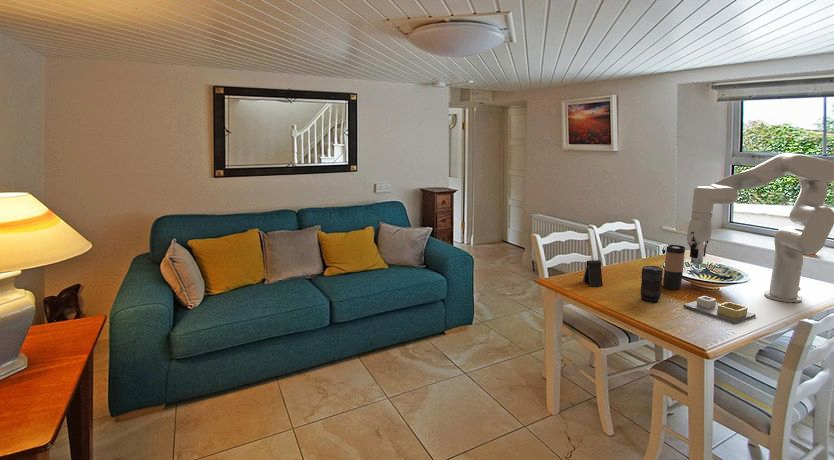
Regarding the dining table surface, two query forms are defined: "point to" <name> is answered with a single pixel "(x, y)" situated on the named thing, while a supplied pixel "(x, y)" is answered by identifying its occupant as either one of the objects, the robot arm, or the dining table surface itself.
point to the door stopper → (593, 273)
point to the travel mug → (674, 267)
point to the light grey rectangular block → (699, 253)
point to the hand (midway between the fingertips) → (697, 256)
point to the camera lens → (651, 283)
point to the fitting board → (720, 310)
